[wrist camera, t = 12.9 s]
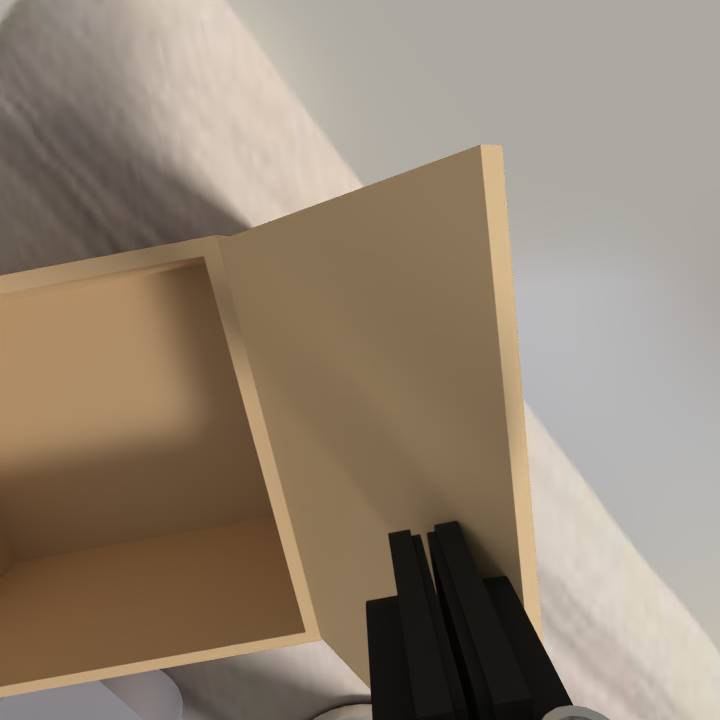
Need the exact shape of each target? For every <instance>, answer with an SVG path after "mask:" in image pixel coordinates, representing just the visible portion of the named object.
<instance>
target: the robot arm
mask: <svg viewBox="0 0 720 720" xmlns="http://www.w3.org/2000/svg"><path fill="white" fill-rule="evenodd" d="M388 537H389V544H390V550H391V557H392V563H393V569H394V576H395V582H396V589H397V595H396V596H390V597H385V598H380V599H374V600H369V601H366V622H367V638H368V655H369V671H370V688H371V704H356V705H349V706H343V707H340V708H336V709H333V710H330V711H328V712H326V713H324V714H322V715H319V716H318V717H316V718H315V719H313V720H609V719H608V718H606V717H605V716H604V715H602V714H600V713H598V712H595V711H593V710H591V709H588V708H586V707H579V706H573V704H572V702H571V700H570V698H569V696H568V694H567V692H566V690H565V688H564V686H563V684H562V682H561V680H560V678H559V676H558V674H557V672H556V670H555V668H554V666H553V664H552V662H551V660H550V658H549V656H548V654H547V653H546V651H545V649H544V647H543V645H542V643H541V641H540V639H539V637H538V635H537V633H536V631H535V629H534V627H533V625H532V623H531V621H530V619H529V617H528V615H527V613H526V611H525V609H524V607H523V605H522V603H521V601H520V599H519V597H518V595H517V593H516V592H515V590H514V588H513V586H512V584H511V582H510V580H509V579H508V577H507V576H500V577H495V578H489V579H484V580H482V578H481V576H480V574H479V571H478V569H477V566H476V564H475V562H474V559H473V557H472V555H471V552H470V550H469V548H468V545H467V543H466V541H465V538H464V536H463V533H462V531H461V529H460V526H459V524H458V522H457V521H451V522H446V523H441V524H435V525H434V532H428V533H427V539H428V545H429V551H430V557H431V563H432V569H433V575H434V581H435V587H436V590H435V587H434V583H433V579H432V576H431V572H430V568H429V564H428V561H427V557H426V553H425V550H424V546H423V542H422V539H421V535H420V534H417V535H411V531H410V529H408V530H402V531H397V532H392V533H388ZM436 593H437V594H436Z"/></svg>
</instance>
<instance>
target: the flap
mask: <svg viewBox="0 0 720 720" xmlns="http://www.w3.org/2000/svg"><path fill="white" fill-rule="evenodd" d="M509 237H510V236H509V225H508V212H507V200H506V188H505V176H504V164H503V151H502V145H479V146H476V147H473V148H470V149H468V150H465V151H463V152H459V153H457V154H454V155H451V156H448V157H446V158H443V159H440V160H437V161H435V162H432V163H429V164H427V165H424V166H421V167H418V168H416V169H413V170H410V171H407V172H405V173H402V174H399V175H396V176H394V177H391V178H388V179H385V180H383V181H380V182H377V183H374V184H372V185H369V186H366V187H364V188H361V189H358V190H355V191H353V192H350V193H347V194H344V195H342V196H339V197H336V198H333V199H331V200H328V201H325V202H322V203H320V204H317V205H314V206H312V207H309V208H306V209H303V210H301V211H298V212H295V213H292V214H290V215H287V216H284V217H281V218H279V219H276V220H273V221H270V222H268V223H265V224H262V225H259V226H257V227H254V228H251V229H249V230H246V231H243V232H240V233H238V234H235V235H232V236H229V237H227V238H224V239H221V240H218V245H219V248H220V252H221V256H222V260H223V264H224V268H225V271H226V275H227V279H228V283H229V287H230V291H231V294H232V298H233V302H234V306H235V310H236V314H237V317H238V321H239V325H240V329H241V333H242V337H243V341H244V344H245V348H246V352H247V356H248V360H249V364H250V367H251V371H252V375H253V379H254V383H255V387H256V390H257V394H258V398H259V402H260V406H261V410H262V414H263V417H264V421H265V425H266V429H267V433H268V437H269V440H270V444H271V448H272V452H273V456H274V460H275V463H276V467H277V471H278V475H279V479H280V483H281V487H282V490H283V494H284V498H285V502H286V506H287V510H288V513H289V517H290V521H291V525H292V529H293V533H294V536H295V540H296V544H297V548H298V552H299V556H300V559H301V563H302V567H303V571H304V575H305V579H306V583H307V586H308V590H309V594H310V598H311V602H312V606H313V609H314V613H315V617H316V621H317V625H318V629H319V632H320V636H321V638H322V639H323V640H324V641H325V642H326V643H327V644H328V645H329V646H330V647H331V648H332V649H333V650H334V652H335V653H336V654H337V655H338V656H339V657H340V658H341V659H342V660H343V661H344V662H345V663H346V664H347V665H348V666H349V667H350V668H351V669H352V671H353V672H354V673H355V674H356V675H357V676H358V677H359V678H360V679H361V680H362V681H363V682H364V683H365V684H366V685H367V686H368V687H369V688H370V671H369V655H368V638H367V622H366V601H369V600H374V599H380V598H385V597H390V596H396V595H397V589H396V582H395V576H394V569H393V563H392V557H391V550H390V544H389V537H388V533H392V532H397V531H402V530H408V529H410V531H411V535H417V534H420V535H421V539H422V542H423V546H424V550H425V553H426V557H427V561H428V564H429V568H430V572H431V576H432V579H433V583H434V587H435V581H434V575H433V569H432V563H431V557H430V551H429V545H428V539H427V533H428V532H434V525H435V524H441V523H446V522H451V521H457V522H458V524H459V526H460V529H461V531H462V533H463V536H464V538H465V541H466V543H467V545H468V548H469V550H470V552H471V555H472V557H473V559H474V562H475V564H476V566H477V569H478V571H479V574H480V576H481V578H482V580H484V579H489V578H495V577H500V576H507V577H508V579H509V580H510V582H511V584H512V586H513V588H514V590H515V592H516V593H517V595H518V597H519V599H520V601H521V603H522V605H523V607H524V609H525V611H526V613H527V615H528V617H529V619H530V621H531V623H532V625H533V627H534V629H535V631H536V633H537V635H538V637H539V639H540V641H541V643H542V645H543V636H542V623H541V611H540V599H539V587H538V575H537V563H536V551H535V539H534V527H533V514H532V502H531V490H530V478H529V466H528V454H527V442H526V430H525V417H524V405H523V393H522V381H521V369H520V357H519V345H518V333H517V321H516V308H515V296H514V285H513V274H512V273H513V272H512V260H511V248H510V238H509ZM435 590H436V587H435ZM436 594H437V593H436ZM370 690H371V688H370Z"/></svg>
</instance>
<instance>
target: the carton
mask: <svg viewBox="0 0 720 720" xmlns="http://www.w3.org/2000/svg"><path fill="white" fill-rule="evenodd" d="M227 237H228V236H221V235H213V236H207V237H202V238H197V239H191V240H186V241H181V242H175V243H170V244H165V245H159V246H154V247H149V248H144V249H138V250H133V251H128V252H122V253H117V254H112V255H106V256H101V257H96V258H90V259H85V260H80V261H75V262H69V263H64V264H59V265H53V266H48V267H43V268H37V269H32V270H27V271H21V272H16V273H11V274H5V275H0V697H6V696H11V695H17V694H23V693H28V692H34V691H39V690H45V689H51V688H56V687H62V686H68V685H73V684H79V683H84V682H90V681H96V680H101V679H107V678H112V677H118V676H124V675H129V674H135V673H141V672H146V671H152V670H157V669H163V668H169V667H174V666H180V665H185V664H191V663H197V662H202V661H208V660H214V659H219V658H225V657H230V656H236V655H242V654H247V653H253V652H258V651H264V650H270V649H275V648H281V647H287V646H292V645H298V644H303V643H309V642H315V641H320V640H322V638H321V636H320V632H319V629H318V625H317V621H316V617H315V613H314V609H313V606H312V602H311V598H310V594H309V590H308V586H307V583H306V579H305V575H304V571H303V567H302V563H301V559H300V556H299V552H298V548H297V544H296V540H295V536H294V533H293V529H292V525H291V521H290V517H289V513H288V510H287V506H286V502H285V498H284V494H283V490H282V487H281V483H280V479H279V475H278V471H277V467H276V463H275V460H274V456H273V452H272V448H271V444H270V440H269V437H268V433H267V429H266V425H265V421H264V417H263V414H262V410H261V406H260V402H259V398H258V394H257V390H256V387H255V383H254V379H253V375H252V371H251V367H250V364H249V360H248V356H247V352H246V348H245V344H244V341H243V337H242V333H241V329H240V325H239V321H238V317H237V314H236V310H235V306H234V302H233V298H232V294H231V291H230V287H229V283H228V279H227V275H226V271H225V268H224V264H223V260H222V256H221V252H220V248H219V245H218V240H221V239H224V238H227Z"/></svg>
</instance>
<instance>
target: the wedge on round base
mask: <svg viewBox="0 0 720 720" xmlns="http://www.w3.org/2000/svg"><path fill="white" fill-rule="evenodd" d="M182 711H183V700H182V696H181V693H180V691H179V689H178V687H177V685H176V684H175V683H174V681H173V680H172V679H171V678H170V677H169V676H168V675H166V674H165V673H164V672H163V671H161V670H159V669H157V670H152V671H146V672H141V673H135V674H129V675H124V676H118V677H112V678H107V679H101V680H96V681H90V682H84V683H79V684H73V685H68V686H62V687H56V688H51V689H45V690H39V691H34V692H28V693H23V694H17V695H11V696H6V697H0V720H180V718H181V715H182Z"/></svg>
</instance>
